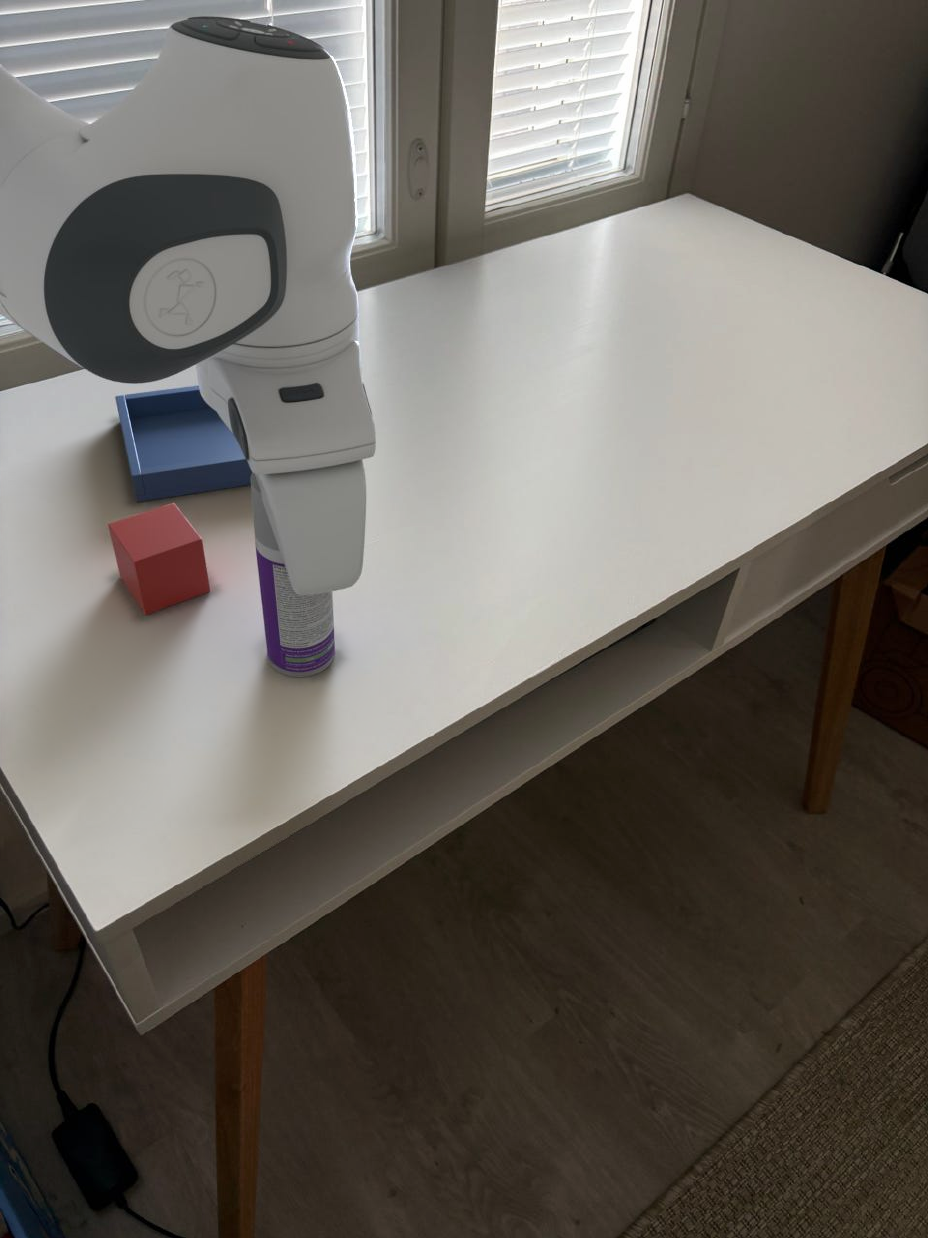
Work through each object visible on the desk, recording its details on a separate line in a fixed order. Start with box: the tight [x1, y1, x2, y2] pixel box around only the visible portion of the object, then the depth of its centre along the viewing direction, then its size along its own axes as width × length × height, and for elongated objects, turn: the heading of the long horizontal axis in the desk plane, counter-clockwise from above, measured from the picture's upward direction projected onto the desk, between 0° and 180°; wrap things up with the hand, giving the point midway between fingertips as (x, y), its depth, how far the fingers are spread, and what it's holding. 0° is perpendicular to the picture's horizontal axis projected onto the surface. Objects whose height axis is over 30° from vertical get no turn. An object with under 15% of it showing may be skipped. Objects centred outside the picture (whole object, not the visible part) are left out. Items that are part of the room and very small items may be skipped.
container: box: [250, 472, 336, 678], centre depth 66 cm, size 5×5×15 cm
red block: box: [107, 502, 211, 616], centre depth 73 cm, size 5×5×5 cm
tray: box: [114, 384, 252, 503], centre depth 88 cm, size 16×13×3 cm
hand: (293, 553), depth 64 cm, fingers closed on container, 5 cm apart
